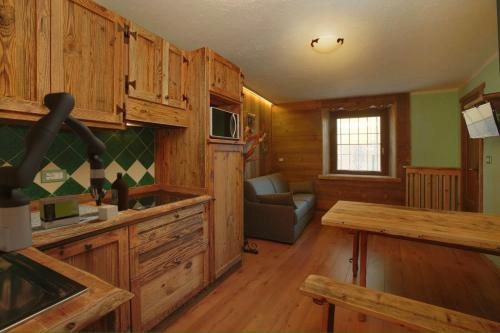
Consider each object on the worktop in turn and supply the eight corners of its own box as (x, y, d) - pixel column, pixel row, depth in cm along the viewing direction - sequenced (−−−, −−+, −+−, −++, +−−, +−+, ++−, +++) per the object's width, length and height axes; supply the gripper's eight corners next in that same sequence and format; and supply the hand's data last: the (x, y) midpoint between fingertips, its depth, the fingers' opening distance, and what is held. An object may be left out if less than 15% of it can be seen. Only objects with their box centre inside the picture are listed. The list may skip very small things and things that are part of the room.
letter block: (98, 219, 139) (107, 220, 136) (98, 207, 138) (107, 208, 136) (109, 216, 145) (118, 217, 143) (108, 204, 145) (117, 205, 143)
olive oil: (123, 207, 169) (122, 171, 168) (132, 209, 164) (131, 172, 162) (108, 210, 160) (107, 172, 159) (117, 212, 155) (116, 173, 153)
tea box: (74, 219, 138) (73, 194, 137) (80, 223, 132) (78, 196, 131) (40, 225, 127) (38, 198, 126) (44, 229, 120) (42, 200, 119)
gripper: (83, 177, 141) (84, 206, 143) (99, 178, 136) (100, 208, 138) (95, 175, 148) (97, 203, 150) (111, 176, 143) (112, 205, 145)
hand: (98, 205), depth 144 cm, fingers closed
